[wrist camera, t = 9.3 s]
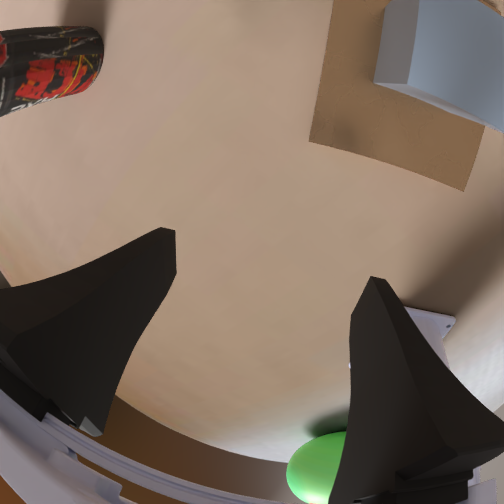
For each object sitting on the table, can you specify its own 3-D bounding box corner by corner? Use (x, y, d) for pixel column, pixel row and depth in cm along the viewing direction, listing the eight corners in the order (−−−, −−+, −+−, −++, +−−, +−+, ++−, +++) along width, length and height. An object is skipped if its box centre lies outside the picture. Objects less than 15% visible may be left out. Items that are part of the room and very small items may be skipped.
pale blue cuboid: (450, 112, 12) (510, 136, 7) (372, 82, 13) (407, 84, 8) (463, 40, 9) (525, 33, 4) (385, 6, 10) (421, -29, 5)
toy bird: (385, 407, 32) (383, 504, 20) (405, 437, 38) (403, 508, 26) (276, 426, 40) (258, 506, 28) (318, 452, 46) (308, 515, 34)
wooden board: (458, 187, 15) (498, 228, 11) (309, 138, 16) (305, 164, 12) (495, 13, 7) (543, 5, 3) (341, -53, 8) (347, -96, 4)
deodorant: (89, 13, 13) (-86, 34, 1) (114, 65, 15) (-83, 118, 3) (48, 57, 15) (-101, 106, 3) (68, 107, 18) (-87, 181, 6)
